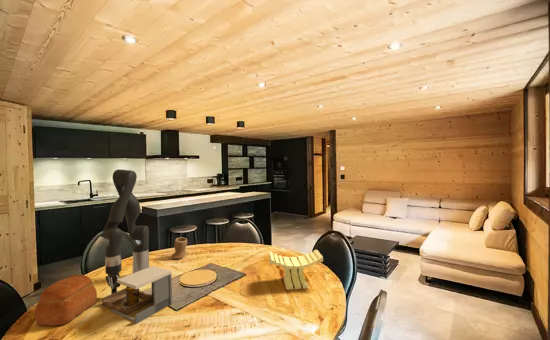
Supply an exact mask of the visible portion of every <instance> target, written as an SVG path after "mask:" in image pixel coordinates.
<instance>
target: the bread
mask: <svg viewBox="0 0 550 340" xmlns="http://www.w3.org/2000/svg"><path fill="white" fill-rule="evenodd" d="M97 295H98V293H97V289H96V287H95V286H94V285H93V280H92V279H91V277H90V276H88V275H85V274H73V275H68V276H67V277H66V278H63V279H60V280H58V281H56V282H54V283H53V284H52V285H50V286H48V287H45V289H44V290H43V291H42V292H41V294H40V295H39V300H38V302H37V304H36V306H35V310H34V320H35V323H36V324H37V325H40V326H45V327H47V326H49V327H52V326H53V327H56V326H62V325H66V324H68V323H70V322H71V321H73V320H74V319H75V318H76V317H77V316H79V315H81V314H83V313H84V311H86V310H88V309H89V308H91V307H92V306H93V305H95V304H96V301H97V298H98V297H97Z"/></svg>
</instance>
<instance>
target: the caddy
mask: <svg viewBox="0 0 550 340" xmlns="http://www.w3.org/2000/svg"><path fill="white" fill-rule="evenodd" d="M139 297H142V298H145V299H144V300H142V301H141V300H140V302H139V303H137V304H135V305H133V306H131V307H128V308H125V309H124V308H122V306H119V305H121V303H122V302H126V287H125V288H122V289H121V290H117V292H115V293H113V294H109V295H106V296H104V297H101V305H102V306H104V307H106V308H109V309H110V310H111V309H114V310H117V311H119V312H121V313H123V314H126V315H128V314H129V313H131V312H133V311H136V310H138V309H139V308H141V307H143V306H145V305H147V304H149V303H151V302H154V297H153V295H152V294H150V293H147V292H145V291H141V290H139Z"/></svg>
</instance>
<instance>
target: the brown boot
mask: <svg viewBox="0 0 550 340" xmlns="http://www.w3.org/2000/svg"><path fill="white" fill-rule="evenodd" d="M187 245H188V239H187V238H186V237H183V236H181V237H177V238H175V240H174V246H173V247H174V253H173V254H172V255H171V257H170V258H171V259H174V260H177V259H178V260H179V259H183V258H184V257H186V255H187V252H188V251H187V250H186V248H187Z"/></svg>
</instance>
